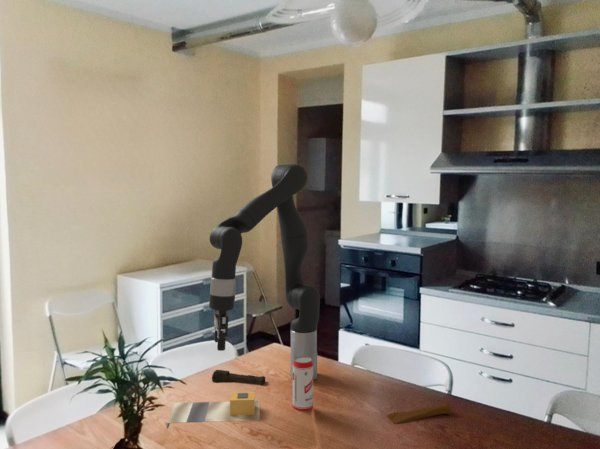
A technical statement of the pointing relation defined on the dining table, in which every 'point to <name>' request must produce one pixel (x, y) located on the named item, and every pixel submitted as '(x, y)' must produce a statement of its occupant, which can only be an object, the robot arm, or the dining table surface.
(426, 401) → the dining table surface
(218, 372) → the black flashlight
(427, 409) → the primitive tool
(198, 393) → the dining table surface
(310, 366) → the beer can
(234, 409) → the yellow block
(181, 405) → the board
